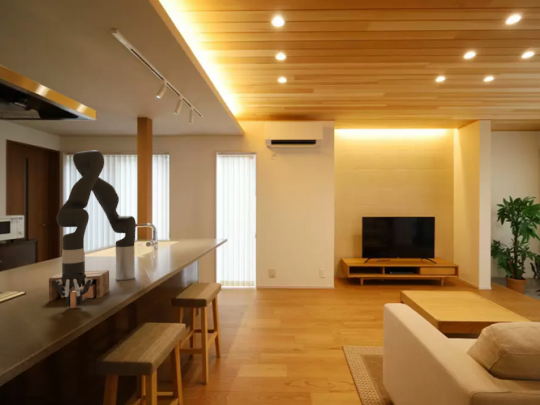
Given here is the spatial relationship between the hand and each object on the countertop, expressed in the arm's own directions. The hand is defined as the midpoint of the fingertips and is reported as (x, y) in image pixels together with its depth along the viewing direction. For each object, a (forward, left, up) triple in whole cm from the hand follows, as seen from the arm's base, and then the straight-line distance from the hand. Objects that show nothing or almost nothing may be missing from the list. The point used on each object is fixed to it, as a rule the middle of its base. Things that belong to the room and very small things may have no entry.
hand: (74, 305), depth 125 cm
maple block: (-18, -9, -1) cm, 20 cm away
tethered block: (-8, 0, -1) cm, 8 cm away
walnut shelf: (-18, -5, -1) cm, 18 cm away
